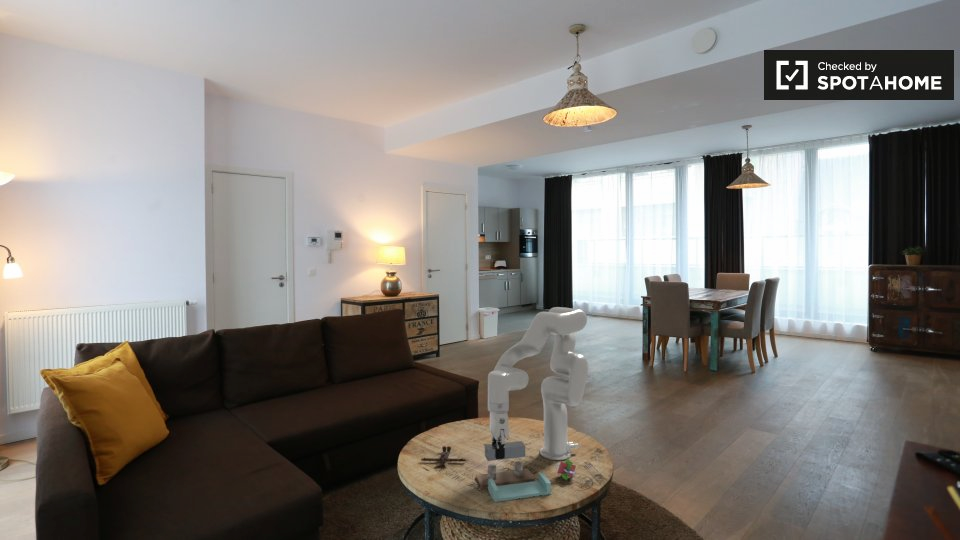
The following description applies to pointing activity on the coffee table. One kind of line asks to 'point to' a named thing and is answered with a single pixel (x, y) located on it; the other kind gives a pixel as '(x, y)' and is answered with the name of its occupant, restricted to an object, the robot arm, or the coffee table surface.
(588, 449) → the coffee table surface
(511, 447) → the steel bar
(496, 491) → the slot holder
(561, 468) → the geometric puzzle
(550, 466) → the coffee table surface
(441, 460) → the bear figurine
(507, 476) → the peg stand
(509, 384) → the robot arm
